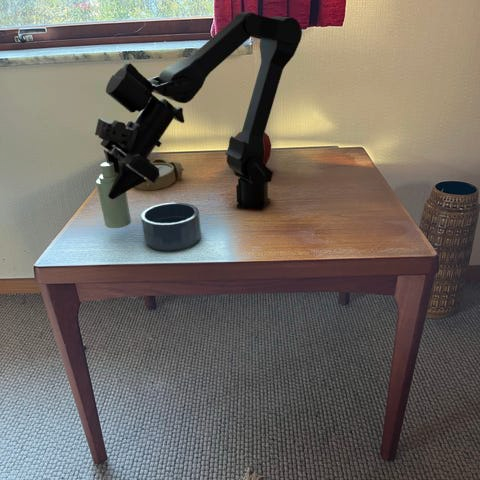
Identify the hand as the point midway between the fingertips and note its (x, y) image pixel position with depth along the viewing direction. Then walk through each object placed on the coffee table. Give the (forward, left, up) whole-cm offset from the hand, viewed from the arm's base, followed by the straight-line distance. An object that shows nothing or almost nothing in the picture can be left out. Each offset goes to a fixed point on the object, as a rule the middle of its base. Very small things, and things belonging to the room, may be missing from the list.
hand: (105, 193), depth 103 cm
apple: (-14, -49, -10) cm, 52 cm away
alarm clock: (+8, -36, -10) cm, 38 cm away
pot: (-12, -3, -10) cm, 16 cm away
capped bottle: (-1, -1, -7) cm, 7 cm away
